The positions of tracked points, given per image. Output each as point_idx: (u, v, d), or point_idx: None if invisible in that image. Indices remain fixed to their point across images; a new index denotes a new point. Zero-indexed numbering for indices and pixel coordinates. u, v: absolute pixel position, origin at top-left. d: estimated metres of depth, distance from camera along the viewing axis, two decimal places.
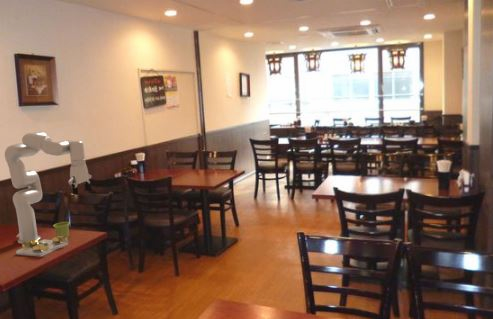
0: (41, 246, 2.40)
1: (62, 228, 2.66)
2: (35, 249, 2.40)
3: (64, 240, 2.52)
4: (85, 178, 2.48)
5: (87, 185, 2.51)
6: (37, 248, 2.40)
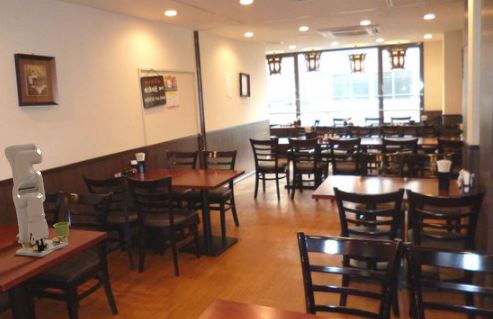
0: None
1: (62, 228, 2.66)
2: (35, 249, 2.40)
3: (64, 240, 2.52)
4: (44, 234, 2.37)
5: None
6: (37, 248, 2.40)
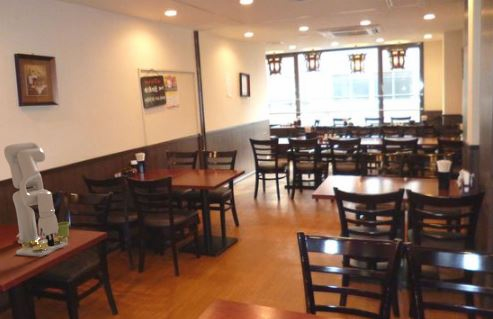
0: (44, 244, 2.43)
1: (62, 228, 2.66)
2: (39, 248, 2.41)
3: (64, 240, 2.52)
4: (54, 229, 2.43)
5: None
6: (41, 247, 2.42)
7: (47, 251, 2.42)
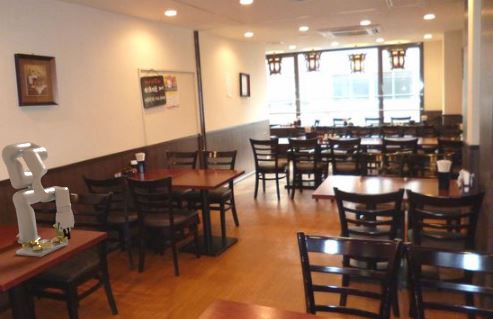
0: (44, 243, 2.44)
1: None
2: (40, 248, 2.41)
3: (64, 240, 2.52)
4: (70, 223, 2.55)
5: None
6: (41, 247, 2.42)
7: (47, 251, 2.42)
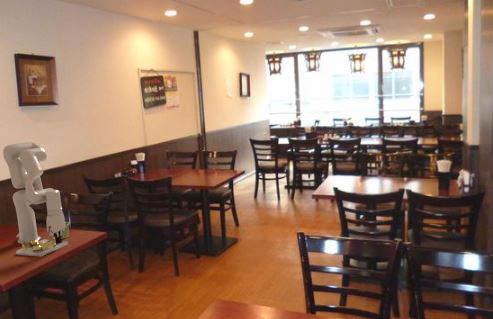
0: (44, 243, 2.44)
1: None
2: (40, 248, 2.41)
3: None
4: (62, 227, 2.49)
5: None
6: (41, 247, 2.42)
7: (47, 251, 2.42)
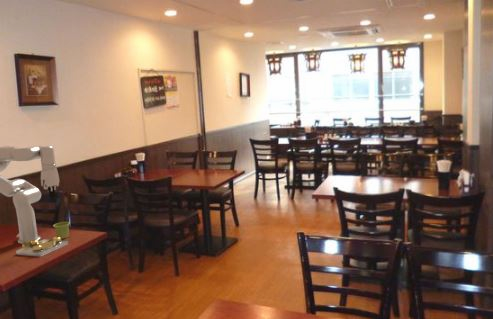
0: (44, 243, 2.44)
1: (62, 228, 2.66)
2: (40, 248, 2.41)
3: None
4: (55, 181, 2.60)
5: None
6: (41, 247, 2.42)
7: (47, 251, 2.42)
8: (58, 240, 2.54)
